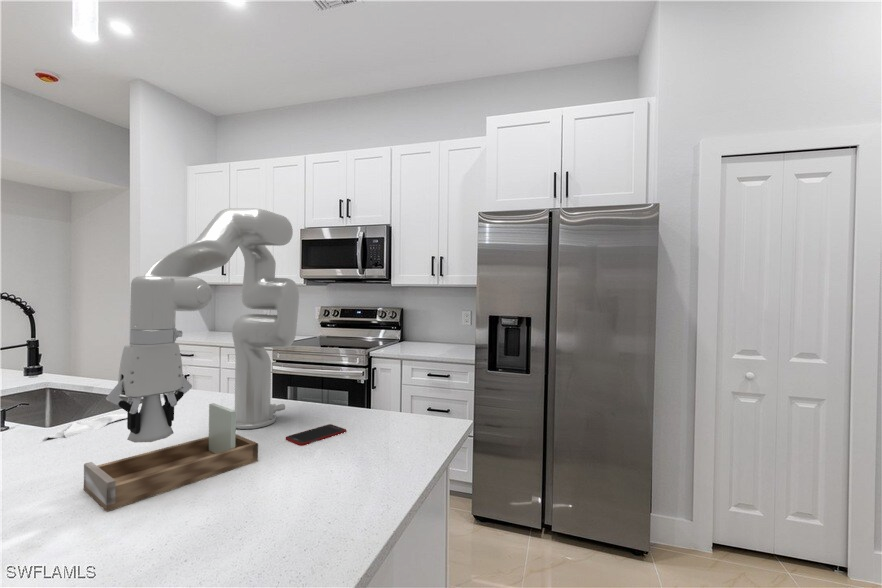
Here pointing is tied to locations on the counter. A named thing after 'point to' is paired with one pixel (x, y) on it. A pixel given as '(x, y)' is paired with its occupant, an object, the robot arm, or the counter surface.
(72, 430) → the cloth
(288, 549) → the counter surface
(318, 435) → the cell phone
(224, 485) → the counter surface
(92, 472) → the wooden rimmed tray
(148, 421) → the flask
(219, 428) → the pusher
